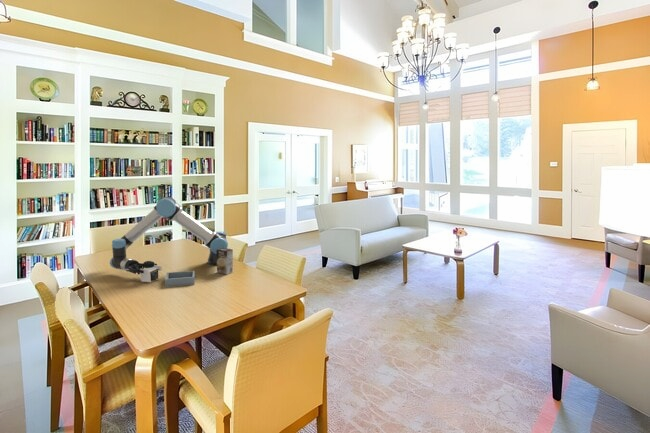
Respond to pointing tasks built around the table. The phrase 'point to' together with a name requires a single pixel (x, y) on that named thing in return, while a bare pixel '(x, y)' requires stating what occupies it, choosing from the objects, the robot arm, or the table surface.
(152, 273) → the medicine bottle
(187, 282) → the tote
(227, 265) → the coffee box
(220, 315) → the table surface
